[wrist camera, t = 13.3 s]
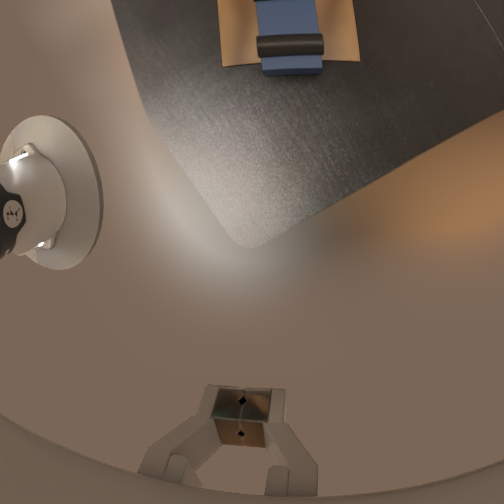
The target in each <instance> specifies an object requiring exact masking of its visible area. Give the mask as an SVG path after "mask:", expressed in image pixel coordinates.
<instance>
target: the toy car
mask: <svg viewBox="0 0 504 504" xmlns="http://www.w3.org/2000/svg"><path fill="white" fill-rule="evenodd" d="M253 1H254V2H256V10H257V20H258V31H259V36H256V46H257V53H258V57H259V58H261V63H262V71H263V72H264V74H265V75H266V76H275V75H297V74H320V72H321V70H322V68H323V65H322V55H324V41H323V35H322V34H321V33H319V28H318V21H317V13H316V6H315V0H253Z"/></svg>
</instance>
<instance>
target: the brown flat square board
mask: <svg viewBox="0 0 504 504" xmlns="http://www.w3.org/2000/svg"><path fill="white" fill-rule="evenodd" d="M315 6H316V13H317V21H318V28H319V33H321V34H322V35H323V41H324V55H322V61H356V62H360V54H359V45H358V37H357V30H356V23H355V16H354V10H353V4H352V0H315ZM218 14H219V27H220V40H221V53H222V65H223V67H227V66H236V65H245V64H255V63H261V58H259V57H258V53H257V46H256V36H259V31H258V20H257V10H256V2H254V1H253V0H218Z"/></svg>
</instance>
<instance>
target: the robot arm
mask: <svg viewBox="0 0 504 504" xmlns="http://www.w3.org/2000/svg"><path fill="white" fill-rule="evenodd" d="M66 213H67V196H66V190H65V186H64V182H63V180H62V177H61V175H60V173H59V171H58V169H57V168H56V167H55V165H54V164H53V163H52V162H51V161H50V160H49V159H48V158H46V157H44V156H43V155H41V154H40V153H39V151H38V149H37V148H36V146H35V145H34V144H33V143H28V144H26V145H24V146H23V147H22V148H21V149H19V150H18V151H17V152H15V153H14V154H13V155H12V156H11V157H9V158H8V159H7V160H6V161H4V162H2V163H0V260H1V259H2V258H4V257H5V256H6V255H7V254H9V253H12V254H15V255H18V256H22V255H24V254H26V253H28V252H29V251H31V250H33V249H35V248H37V247H40V248H44V249H51V248H53V247H54V245H55V241H56V235H57V233H58V232H59V230H60V229H61V227H62V226H63V224H64V221H65V218H66ZM286 403H287V390H286V389H274V388H242V387H231V386H219V385H210V384H208V385H207V386H206V387H205V390H204V393H203V396H202V399H201V402H200V405H199V408H198V411H197V414H196V416H191V417H190V418H189V419H187V420H186V421H185V422H183V423H182V424H180V425H179V426H178V427H176V428H175V429H174V430H172V431H171V432H169V433H168V434H167V435H165V436H164V437H163V438H161V439H160V440H158V441H157V442H155V443H154V444H152V445H151V446H149V447H148V449H147V451H146V453H145V456H144V458H143V460H142V463H141V465H140V468H139V470H138V472H137V473H134V472H131V471H128V470H124V469H121V468H118V467H115V466H112V465H109V464H106V463H103V462H101V461H98V460H96V459H93V458H90V457H88V456H85V455H82V454H80V453H78V452H75V451H73V450H70V449H68V448H66V447H64V446H61V445H59V444H57V443H55V442H53V441H51V440H49V439H47V438H44V437H43V436H40V435H38V434H37V433H35V432H32V431H31V430H29V429H27V428H25V427H23V426H22V425H20V424H18V423H16V422H15V421H13V420H11V419H9V418H8V417H6V416H4V415H3V414H1V413H0V504H504V459H502V460H500V461H497V462H495V463H492V464H489V465H486V466H484V467H481V468H478V469H475V470H472V471H469V472H466V473H462V474H459V475H456V476H453V477H449V478H445V479H441V480H437V481H433V482H429V483H424V484H420V485H415V486H411V487H405V488H400V489H393V490H387V491H380V492H372V493H364V494H354V495H341V496H321V497H317V489H318V465H317V464H316V462H315V461H314V460H313V458H312V457H311V456H310V454H309V453H308V452H307V450H306V449H305V447H304V446H303V445H302V443H301V442H300V440H299V439H298V438H297V436H296V435H295V433H294V432H293V431H292V429H291V428H290V426H289V425H288V424H287V423H286V411H287V409H286V408H287V404H286ZM222 444H225V445H238V446H250V447H262V448H266V450H267V452H268V453H269V456H270V457H271V459H272V461H273V463H274V465H275V466H272V467H271V468H269V469H268V475H267V482H266V488H265V494H264V495H249V494H240V493H231V492H223V491H216V490H210V489H204V488H202V484H201V482H200V480H199V478H198V477H197V475H196V473H195V471H196V470H197V469H198V468H199V467H200V466H201V465H202V464H203V463H204V462H206V461H207V460H208V459H209V458H210V457H211V456H212V454H214V453H215V452H216V451H217V450H218V449H219V448H220V447H221V446H222Z"/></svg>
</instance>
